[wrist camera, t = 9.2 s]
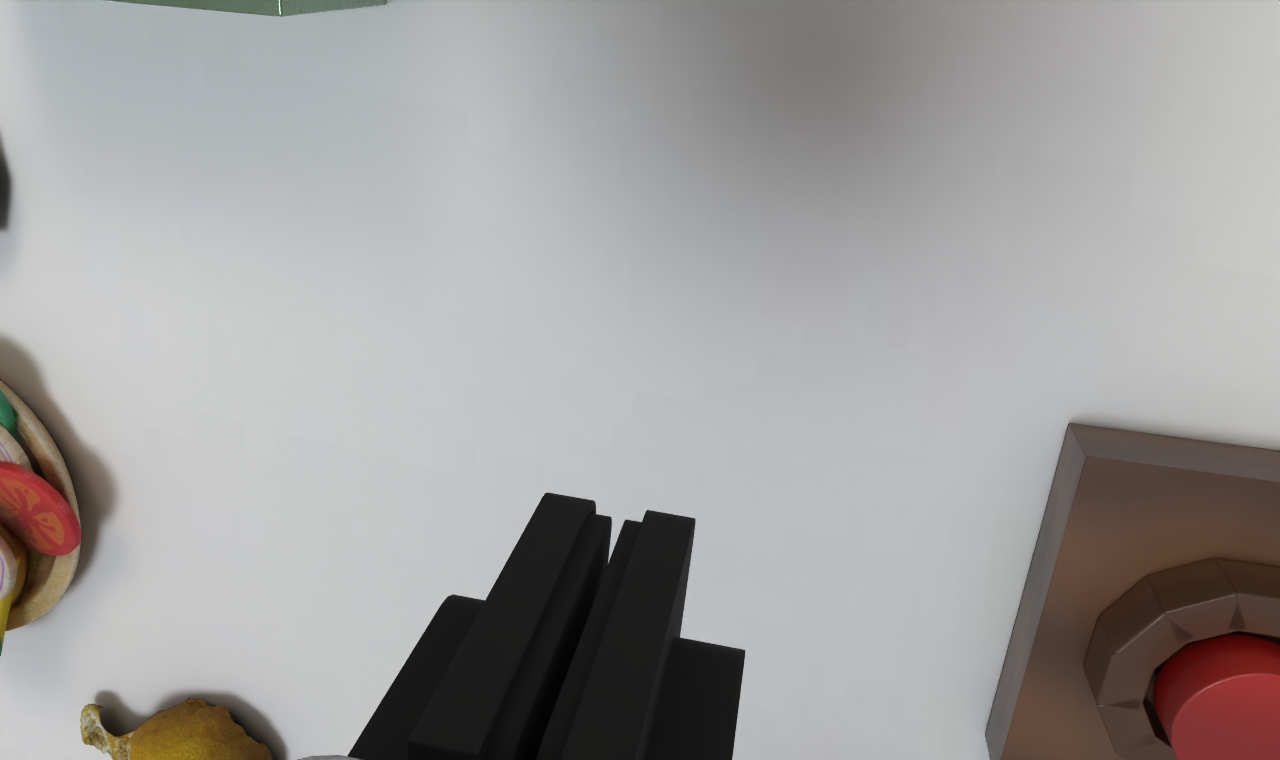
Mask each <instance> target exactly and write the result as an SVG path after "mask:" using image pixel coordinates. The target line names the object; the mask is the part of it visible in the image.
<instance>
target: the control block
mask: <svg viewBox="0 0 1280 760" xmlns="http://www.w3.org/2000/svg"><path fill="white" fill-rule="evenodd" d="M1223 634H1248V635H1254V636H1259V637H1263V638H1266V639H1269V640H1272V641H1274V642H1276V643H1278V644H1280V451H1273V450H1265V449H1258V448H1250V447H1243V446H1235V445H1227V444H1220V443H1212V442H1205V441H1197V440H1190V439H1182V438H1175V437H1167V436H1160V435H1152V434H1144V433H1137V432H1129V431H1122V430H1114V429H1107V428H1099V427H1092V426H1084V425H1077V424H1069V426H1068V430H1067V433H1066V437H1065V441H1064V444H1063V448H1062V452H1061V455H1060V459H1059V463H1058V467H1057V470H1056V474H1055V478H1054V481H1053V485H1052V489H1051V492H1050V496H1049V500H1048V504H1047V507H1046V511H1045V515H1044V518H1043V522H1042V526H1041V529H1040V533H1039V537H1038V541H1037V544H1036V548H1035V552H1034V555H1033V559H1032V563H1031V566H1030V570H1029V574H1028V578H1027V581H1026V585H1025V589H1024V592H1023V596H1022V600H1021V603H1020V607H1019V611H1018V614H1017V618H1016V622H1015V626H1014V629H1013V633H1012V637H1011V640H1010V644H1009V648H1008V651H1007V655H1006V659H1005V663H1004V666H1003V670H1002V674H1001V677H1000V681H999V685H998V688H997V692H996V696H995V700H994V703H993V707H992V711H991V714H990V718H989V722H988V725H987V729H986V733H985V737H986V742H987V746H988V751H989V756H990V760H1178V759H1177V758H1176V756H1175V754H1174V752H1173V749H1172V747H1171V745H1170V743H1169V740H1168V738H1167V736H1166V733H1165V731H1164V729H1163V726H1162V724H1161V722H1160V720H1159V717H1158V715H1157V713H1156V710H1155V707H1154V703H1153V687H1154V683H1155V680H1156V677H1157V675H1158V673H1159V671H1160V670H1161V668H1162V667H1163V665H1164V664H1165V663H1166V662H1167V661H1168V659H1169V658H1171V657H1172V656H1173V655H1174V654H1175V653H1176V652H1178V651H1179V650H1181V649H1182V648H1184V647H1186V646H1187V645H1189V644H1191V643H1194V642H1196V641H1199V640H1203V639H1207V638H1211V637H1215V636H1219V635H1223Z"/></svg>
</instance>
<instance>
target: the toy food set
mask: <svg viewBox="0 0 1280 760" xmlns="http://www.w3.org/2000/svg"><path fill="white" fill-rule="evenodd" d="M80 545H81V524H80V516H79V510H78V504H77V500H76V497H75V492H74V488H73V484H72V481H71V477H70V475H69V472H68V469H67V467H66V464H65V462H64V460H63V458H62V456H61V454H60V452H59V450H58V448H57V446H56V444H55V443H54V441H53V439H52V438H51V436H50V435H49V433H48V432H47V430H46V429H45V427H44V426H43V425H42V423H41V422H40V421H39V419H38V418H37V417H36V416H35V414H34V413H33V412H32V410H31V409H30V408H29V407H28V406H27V405H26V404H25V403H24V402H23V401H22V400H21V399H20V398H19V397H18V396H17V395H16V394H15V393H14V392H13V391H12V390H11V389H10V388H9V387H7V386H6V385H5V384H4V383H3V382H2V381H1V380H0V656H1V651H2V645H3V641H4V634H5V631H9V630H12V629H15V628H18V627H21V626H24V625H26V624H29V623H31V622H33V621H35V620H36V619H38V618H40V617H41V616H43V615H44V614H46V613H47V612H48V611H49V610H51V609H52V608H53V607H54V606H55V605H56V604H57V602H58V601H59V600H60V599H61V597H62V596H63V595H64V593H65V592H66V591H67V589H68V587H69V585H70V583H71V581H72V579H73V576H74V574H75V571H76V568H77V564H78V560H79V554H80Z"/></svg>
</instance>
